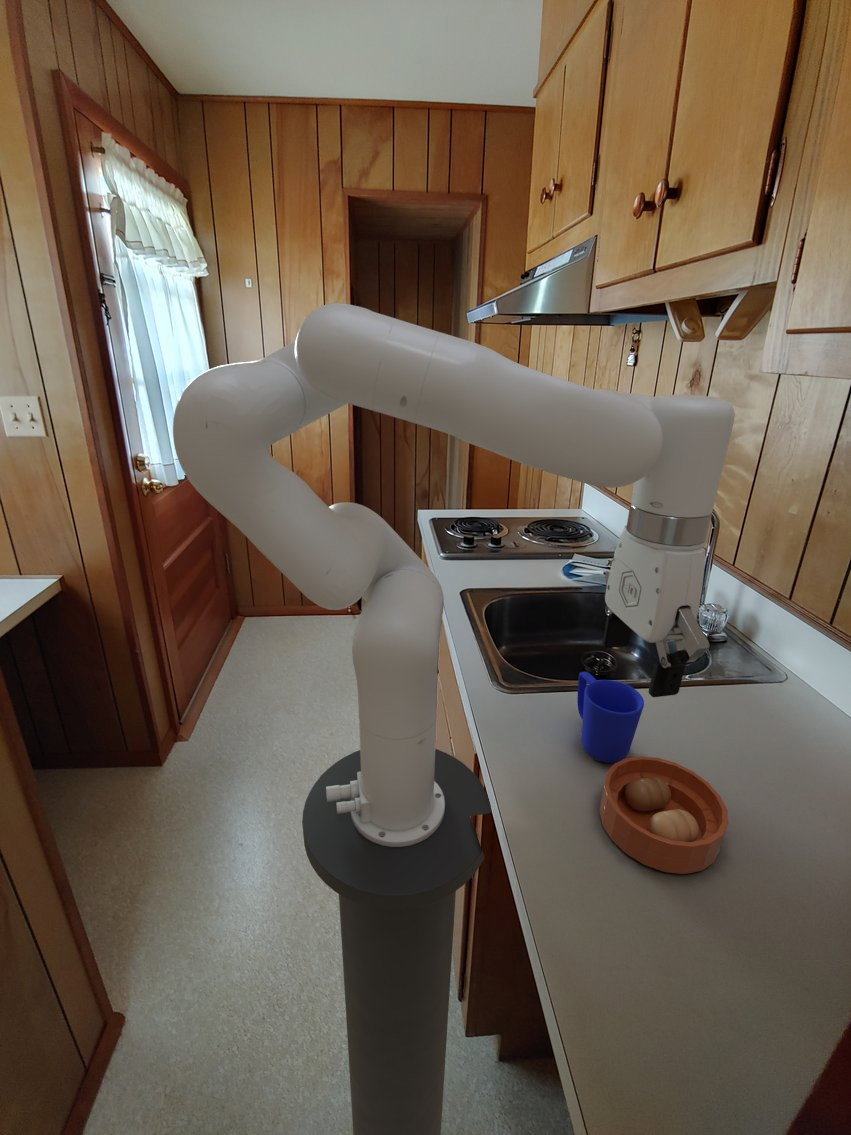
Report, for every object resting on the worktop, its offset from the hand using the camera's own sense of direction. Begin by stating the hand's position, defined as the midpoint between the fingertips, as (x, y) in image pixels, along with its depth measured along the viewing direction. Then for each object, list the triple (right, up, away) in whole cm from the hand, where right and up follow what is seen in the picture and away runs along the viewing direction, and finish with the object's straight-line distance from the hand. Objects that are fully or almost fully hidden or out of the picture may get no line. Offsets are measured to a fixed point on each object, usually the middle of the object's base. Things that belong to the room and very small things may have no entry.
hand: (637, 668), depth 62 cm
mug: (+3, -16, +23) cm, 28 cm away
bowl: (+6, -22, +9) cm, 24 cm away
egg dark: (+5, -20, +11) cm, 24 cm away
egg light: (+6, -22, +6) cm, 24 cm away
